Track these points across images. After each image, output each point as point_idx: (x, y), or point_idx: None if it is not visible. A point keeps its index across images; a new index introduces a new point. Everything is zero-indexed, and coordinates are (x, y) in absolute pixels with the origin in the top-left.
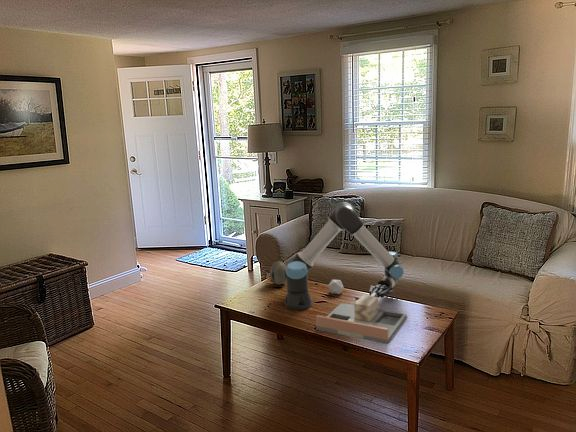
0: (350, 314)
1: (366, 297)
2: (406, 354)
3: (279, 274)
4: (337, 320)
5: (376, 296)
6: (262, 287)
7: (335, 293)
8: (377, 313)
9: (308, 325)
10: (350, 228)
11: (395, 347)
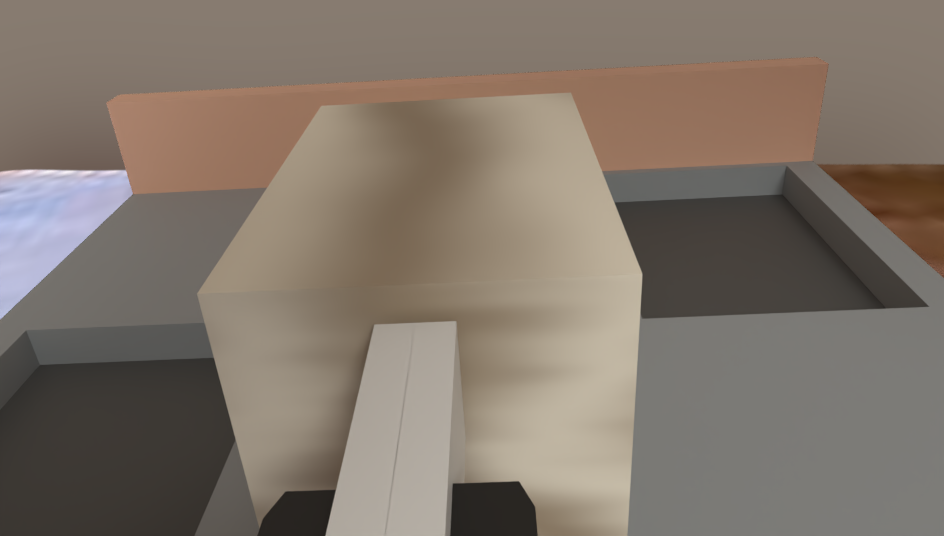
0: (696, 358)
1: (484, 223)
2: (28, 189)
3: None
4: (586, 71)
5: (277, 504)
6: None
7: None
8: None
9: (922, 198)
10: None
11: (93, 210)
